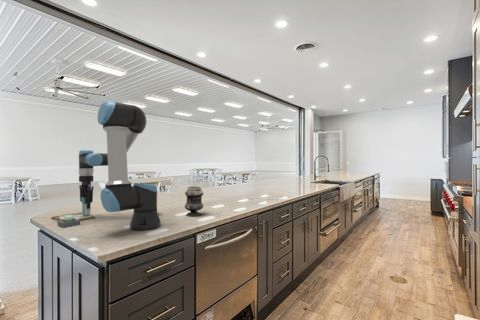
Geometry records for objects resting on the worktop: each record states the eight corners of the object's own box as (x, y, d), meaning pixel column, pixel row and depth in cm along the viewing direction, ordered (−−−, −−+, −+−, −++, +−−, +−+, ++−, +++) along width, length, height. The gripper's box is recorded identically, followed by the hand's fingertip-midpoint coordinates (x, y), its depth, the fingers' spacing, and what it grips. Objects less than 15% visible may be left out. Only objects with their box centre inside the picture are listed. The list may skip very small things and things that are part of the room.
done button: (75, 220, 134) (75, 215, 134) (66, 222, 130) (66, 217, 130) (71, 219, 136) (71, 214, 136) (62, 221, 133) (62, 215, 133)
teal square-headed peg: (91, 215, 150) (91, 197, 150) (84, 217, 147) (84, 198, 147) (88, 214, 153) (88, 196, 153) (80, 216, 149) (80, 197, 149)
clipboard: (95, 218, 149) (95, 215, 149) (65, 223, 136) (65, 220, 136) (80, 213, 161) (80, 211, 161) (51, 218, 148) (51, 216, 148)
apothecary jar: (201, 217, 153) (201, 188, 153) (182, 216, 153) (182, 188, 153) (204, 212, 165) (204, 186, 165) (187, 212, 165) (187, 186, 165)
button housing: (80, 224, 134) (80, 220, 134) (63, 227, 128) (63, 223, 128) (74, 222, 139) (74, 218, 139) (57, 225, 132) (57, 220, 132)
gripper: (99, 175, 148) (99, 214, 148) (86, 174, 157) (86, 210, 158) (85, 176, 142) (85, 216, 142) (73, 175, 151) (73, 212, 151)
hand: (86, 213), depth 150 cm, fingers closed on teal square-headed peg, 3 cm apart
